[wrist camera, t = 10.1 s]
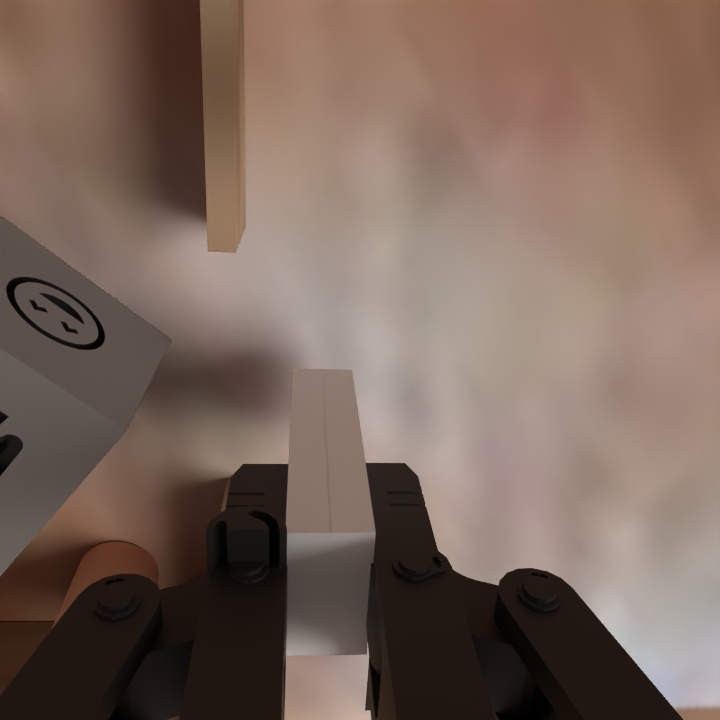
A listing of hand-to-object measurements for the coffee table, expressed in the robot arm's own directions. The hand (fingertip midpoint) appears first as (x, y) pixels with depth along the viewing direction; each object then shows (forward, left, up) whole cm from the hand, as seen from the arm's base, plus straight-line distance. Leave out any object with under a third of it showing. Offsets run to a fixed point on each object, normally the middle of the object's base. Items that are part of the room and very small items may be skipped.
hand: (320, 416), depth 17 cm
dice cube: (+4, -6, -2) cm, 8 cm away
